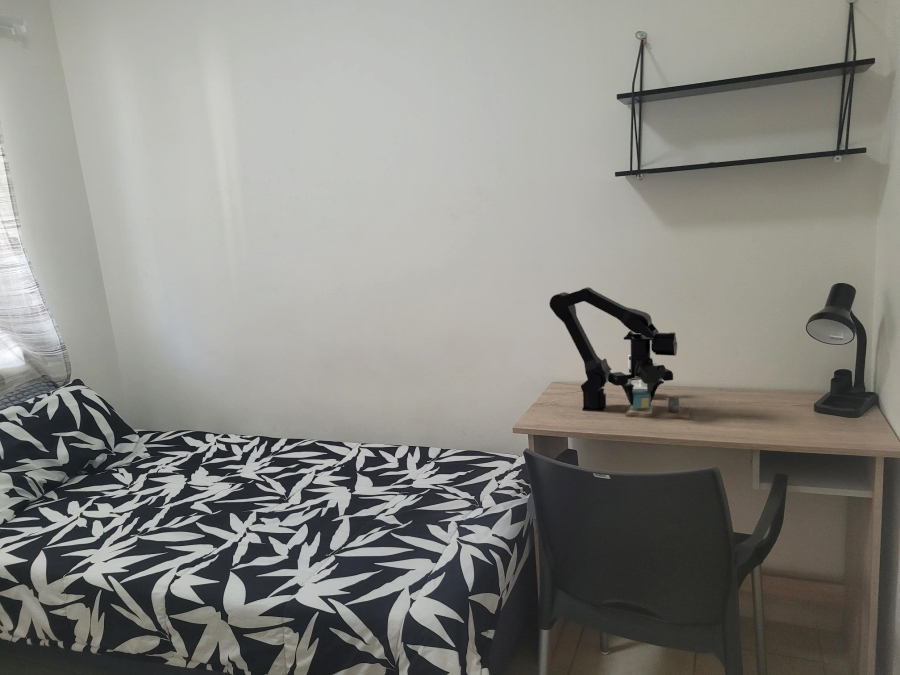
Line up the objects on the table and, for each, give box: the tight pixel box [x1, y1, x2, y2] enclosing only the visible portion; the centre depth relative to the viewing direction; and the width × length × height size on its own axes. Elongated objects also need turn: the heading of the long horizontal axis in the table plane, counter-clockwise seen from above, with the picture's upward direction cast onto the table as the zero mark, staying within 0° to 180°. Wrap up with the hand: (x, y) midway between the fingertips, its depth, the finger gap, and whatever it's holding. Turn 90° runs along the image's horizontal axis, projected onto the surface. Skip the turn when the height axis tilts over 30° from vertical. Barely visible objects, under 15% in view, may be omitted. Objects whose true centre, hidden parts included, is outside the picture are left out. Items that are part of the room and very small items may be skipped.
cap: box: [629, 390, 652, 408], centre depth 190 cm, size 6×6×4 cm
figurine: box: [627, 353, 659, 391], centre depth 206 cm, size 7×9×15 cm
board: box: [625, 396, 691, 421], centre depth 188 cm, size 18×10×5 cm, turn 69°
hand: (640, 403), depth 190 cm, fingers closed on cap, 6 cm apart
